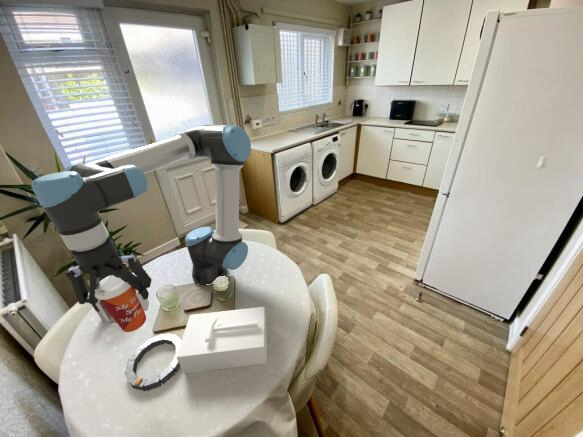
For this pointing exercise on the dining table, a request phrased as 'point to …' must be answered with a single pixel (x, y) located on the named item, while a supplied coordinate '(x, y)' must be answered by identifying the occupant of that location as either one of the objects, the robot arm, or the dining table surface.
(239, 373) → the dining table surface
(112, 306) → the coffee cup
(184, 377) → the dining table surface
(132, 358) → the grey stone ring
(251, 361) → the white hammer box
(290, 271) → the dining table surface
